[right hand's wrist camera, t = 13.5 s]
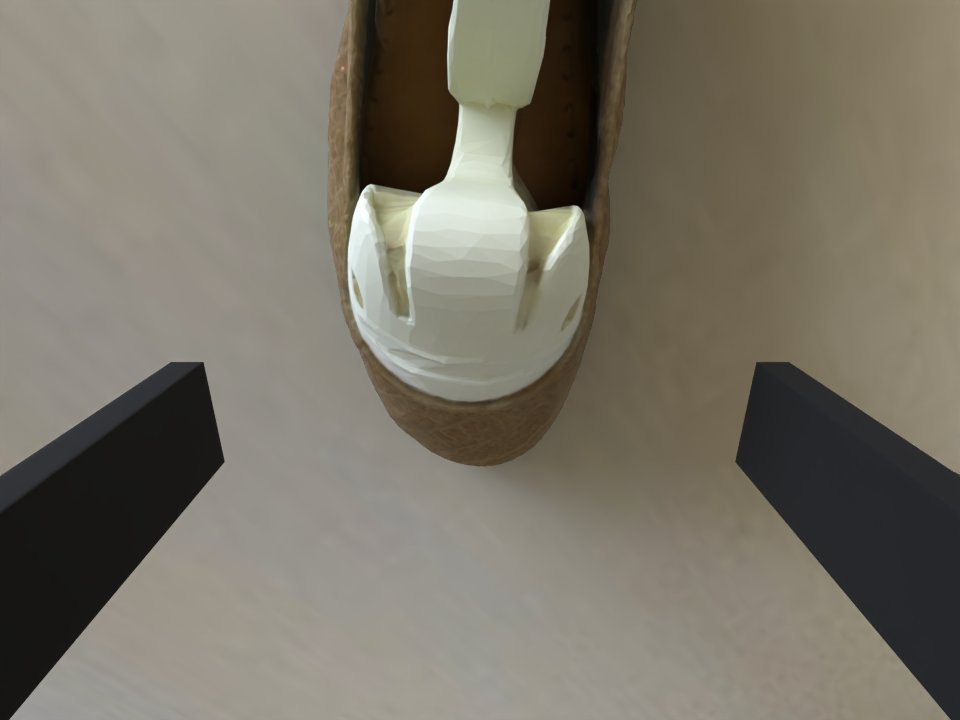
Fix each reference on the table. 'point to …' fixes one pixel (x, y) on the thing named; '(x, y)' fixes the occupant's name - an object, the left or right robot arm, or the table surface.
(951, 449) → the table surface
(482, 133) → the ballet flat
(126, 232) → the table surface
